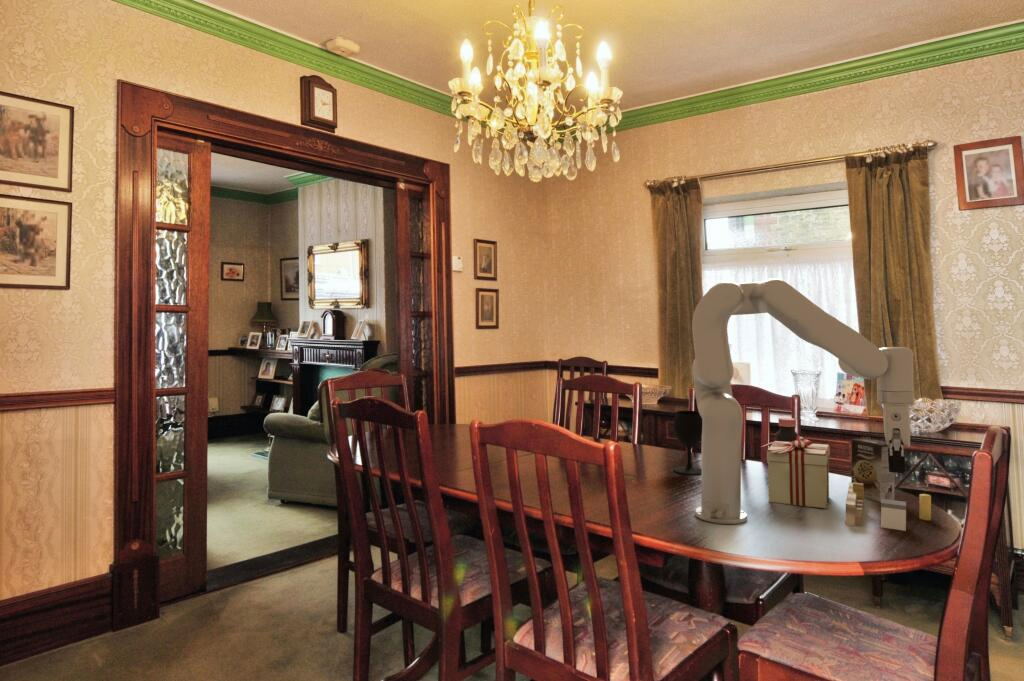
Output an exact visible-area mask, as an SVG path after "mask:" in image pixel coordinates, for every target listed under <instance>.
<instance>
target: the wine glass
mask: <svg viewBox="0 0 1024 681" xmlns="http://www.w3.org/2000/svg"><path fill="white" fill-rule="evenodd" d="M672 425H673V432H674V435H675V437H676V439H677V440H678V442H680V443H681V444H682V445H683V446H684V447H686V450H687V465H686V466H678V467H674V468H673V472H674V473H677V474H679V475H684V476H685V475H686V476H700V475H701V474H702V468H699V467H695V466H692V459H691V457H692V449H693V448H694V447H695V446H697V445H698V444H699V443H700V442H702V418H701V416H700V414H699V411H697V410H678V411H676V412H675V415H674V418H673V424H672Z"/></svg>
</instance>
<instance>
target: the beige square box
mask: <svg viewBox="0 0 1024 681" xmlns="http://www.w3.org/2000/svg"><path fill="white" fill-rule="evenodd" d="M880 507H881V508H880V527H881V528H883V529H890V530H897V531H898V530H899V531H903V532H904V531H905V532H906V531H907V530H906V529H907V502H906V501H905V500H904V501H902V500H895V499H894V500H888V499H881V502H880Z"/></svg>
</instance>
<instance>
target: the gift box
mask: <svg viewBox="0 0 1024 681" xmlns="http://www.w3.org/2000/svg"><path fill="white" fill-rule="evenodd" d="M812 442H813V441H812V440H808V439H807V438H804V437H803V436H800V435H799V436H797V439H796V441H792V442H783V441H775V440H774V441H771V442H768V443H766V444H763V445H762V446H759V448H761V449H763V448H766V447H768V446H769V447H768V448H767V449H766V462H767V465H768V467H767V469H768V471H767V472H768V473H767V474H768V475H767V476H768V477H767V478H768V503H772V504H773V503H775V504H781V505H791V506H798V507H809V508H816V509H823V510H824V509H827V507H828V504H829V502H830V498H829V497H830V481H829V480H830V479H829V478H830V475H829V474H830V473H829V472H830V468H829V465H830V464H829V463H830V462H829V459H830V455H831V454H830V453H831V449H830V448H831V446H830V444H823V443H812Z"/></svg>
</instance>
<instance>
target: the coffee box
mask: <svg viewBox="0 0 1024 681" xmlns="http://www.w3.org/2000/svg"><path fill="white" fill-rule="evenodd" d="M888 448H890V447H889V446H888V445H887V444H886V441H882V440H877V439H872V438H867V437H866V438H865V437H864V438H852V439H851V477H850V478H851V482H850V483H853V482H854V483H863V488H864V499H868V500H871V501H875V502H878V503H881V499H888V500H895V474H896V473H892V472H889V463H888Z"/></svg>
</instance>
